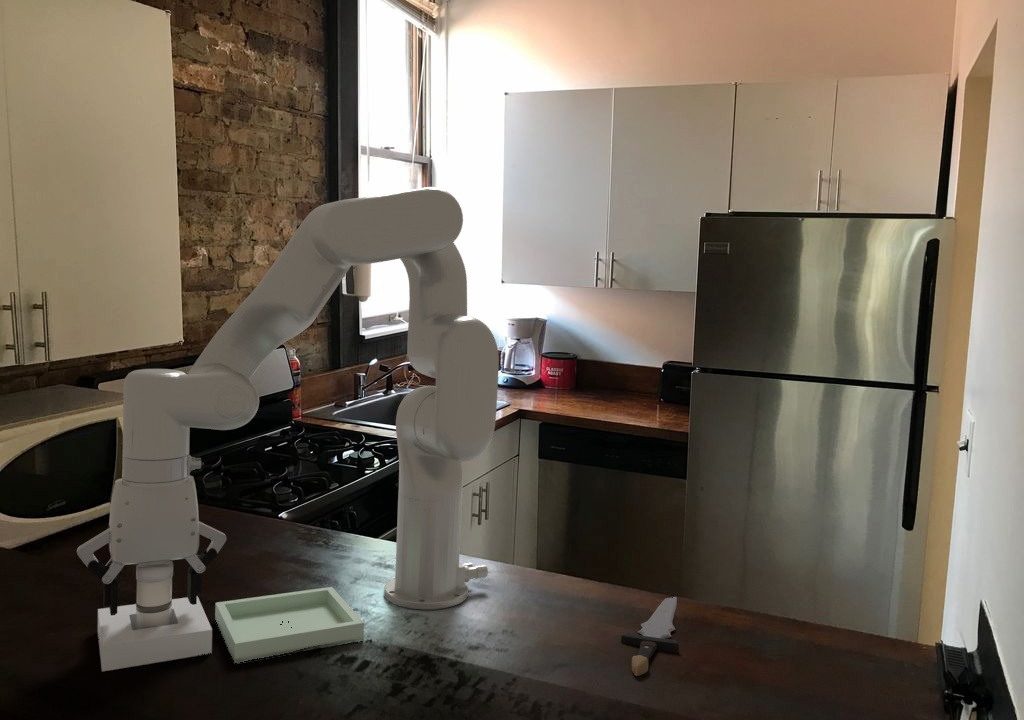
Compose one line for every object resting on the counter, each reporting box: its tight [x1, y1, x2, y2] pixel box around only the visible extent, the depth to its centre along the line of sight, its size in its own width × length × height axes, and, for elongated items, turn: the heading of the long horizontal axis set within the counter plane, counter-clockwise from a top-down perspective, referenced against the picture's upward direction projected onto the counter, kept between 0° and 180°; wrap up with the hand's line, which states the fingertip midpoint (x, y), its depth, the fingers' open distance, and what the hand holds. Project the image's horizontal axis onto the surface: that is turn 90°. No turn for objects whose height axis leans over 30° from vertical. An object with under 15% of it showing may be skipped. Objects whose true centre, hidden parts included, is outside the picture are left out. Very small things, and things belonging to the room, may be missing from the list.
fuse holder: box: [97, 595, 213, 672], centre depth 100 cm, size 12×12×3 cm
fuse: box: [135, 560, 174, 630], centre depth 100 cm, size 4×4×10 cm
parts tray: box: [214, 586, 365, 664], centre depth 106 cm, size 16×14×2 cm
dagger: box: [620, 596, 680, 677], centre depth 112 cm, size 8×32×2 cm, turn 168°
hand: (153, 605), depth 100 cm, fingers open, 8 cm apart
